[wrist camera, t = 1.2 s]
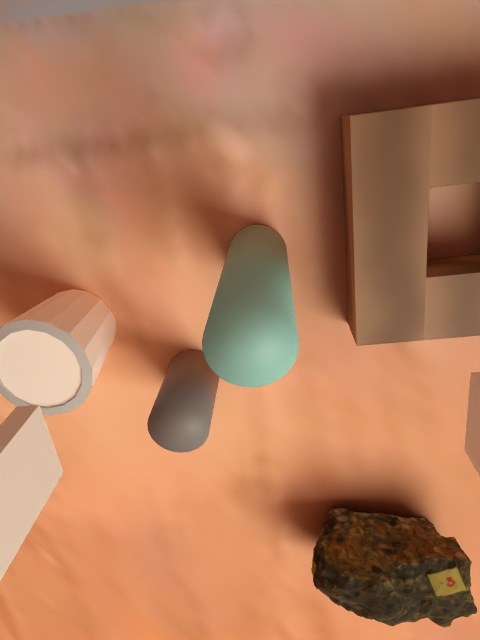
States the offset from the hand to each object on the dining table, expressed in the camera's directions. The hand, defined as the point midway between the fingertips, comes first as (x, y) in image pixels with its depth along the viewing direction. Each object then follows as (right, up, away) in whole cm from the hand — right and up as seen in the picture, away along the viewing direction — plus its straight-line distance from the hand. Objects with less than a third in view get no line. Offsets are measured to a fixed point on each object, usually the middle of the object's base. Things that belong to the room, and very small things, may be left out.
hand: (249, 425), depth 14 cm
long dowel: (+1, +8, +18) cm, 19 cm away
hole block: (+14, +10, +16) cm, 23 cm away
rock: (+12, -16, +28) cm, 34 cm away
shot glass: (-12, +3, +21) cm, 24 cm away
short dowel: (-4, -1, +22) cm, 22 cm away
